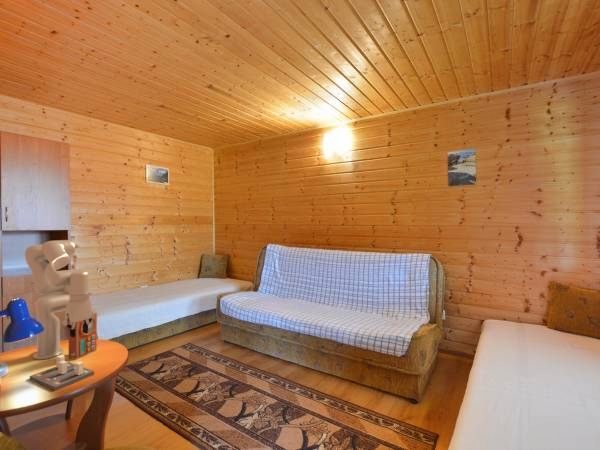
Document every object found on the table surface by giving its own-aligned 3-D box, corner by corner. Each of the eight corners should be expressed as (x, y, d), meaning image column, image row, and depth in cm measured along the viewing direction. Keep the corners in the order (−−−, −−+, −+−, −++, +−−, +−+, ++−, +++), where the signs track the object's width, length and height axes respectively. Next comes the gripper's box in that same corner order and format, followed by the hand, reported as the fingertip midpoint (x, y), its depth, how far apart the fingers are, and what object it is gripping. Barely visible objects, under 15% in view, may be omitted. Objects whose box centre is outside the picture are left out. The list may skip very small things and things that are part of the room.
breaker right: (74, 373, 143) (74, 362, 143) (79, 371, 145) (79, 361, 145) (78, 375, 142) (78, 364, 142) (83, 373, 144) (83, 362, 143)
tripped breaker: (58, 372, 144) (58, 362, 144) (63, 371, 145) (63, 360, 145) (61, 374, 142) (61, 363, 142) (66, 372, 144) (66, 361, 144)
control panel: (99, 349, 175) (75, 360, 161) (89, 348, 177) (64, 359, 162) (100, 311, 175) (76, 319, 161) (89, 310, 177) (64, 318, 162)
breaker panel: (29, 379, 141) (29, 375, 141) (68, 365, 156) (68, 361, 156) (55, 390, 132) (55, 386, 132) (94, 374, 146) (94, 371, 146)
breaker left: (56, 366, 150) (56, 356, 150) (61, 365, 151) (61, 354, 151) (60, 368, 148) (60, 357, 148) (64, 366, 150) (64, 356, 150)
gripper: (92, 292, 159) (92, 328, 159) (54, 300, 144) (54, 339, 144) (102, 294, 156) (101, 330, 156) (64, 302, 141) (63, 342, 141)
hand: (79, 334), depth 150 cm, fingers open, 4 cm apart
